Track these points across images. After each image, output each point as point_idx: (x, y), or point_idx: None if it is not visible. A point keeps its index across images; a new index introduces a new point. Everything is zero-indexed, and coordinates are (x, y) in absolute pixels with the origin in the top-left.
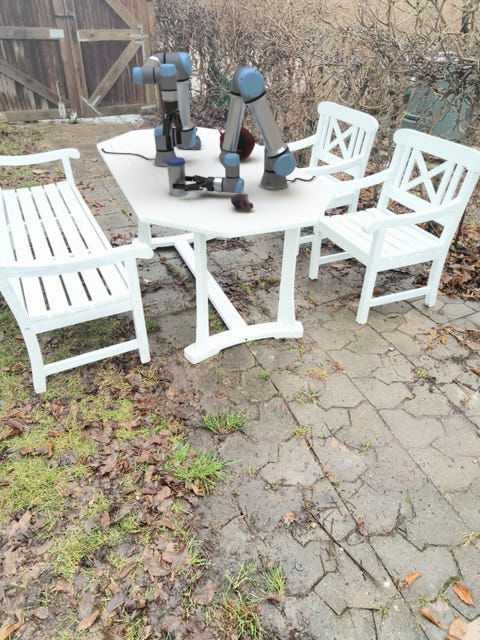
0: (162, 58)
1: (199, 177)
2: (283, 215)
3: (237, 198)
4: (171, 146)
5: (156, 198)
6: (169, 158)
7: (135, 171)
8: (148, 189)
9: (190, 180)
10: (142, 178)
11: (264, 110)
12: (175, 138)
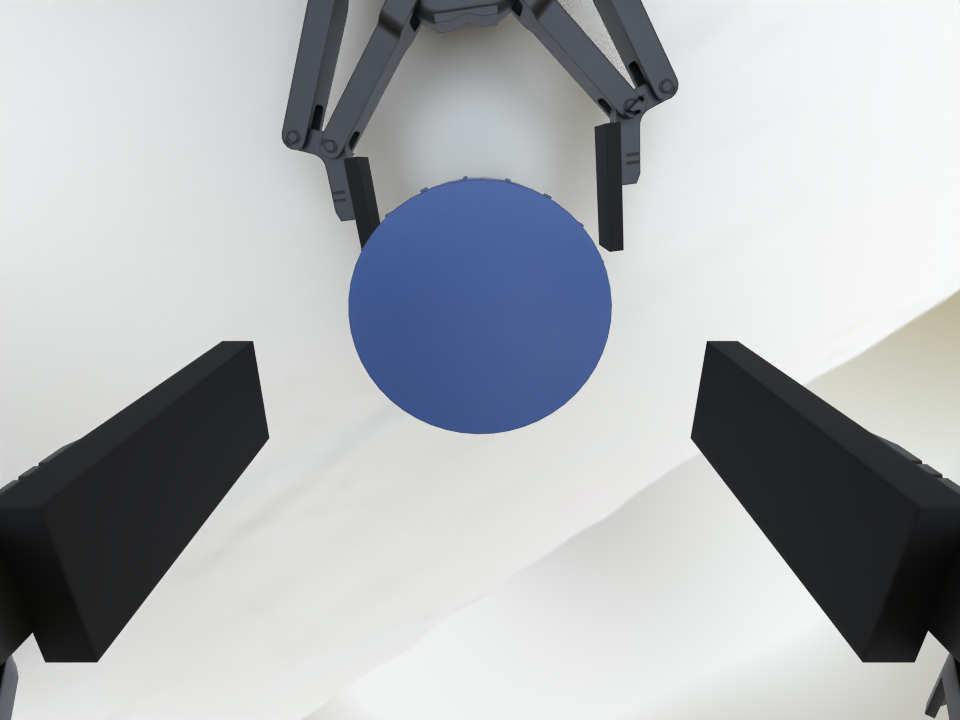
0: None
1: (322, 73)
2: None
3: None
4: (749, 363)
5: (621, 350)
6: (448, 417)
7: (188, 683)
8: (466, 476)
9: (369, 173)
10: (286, 597)
11: None
12: None
